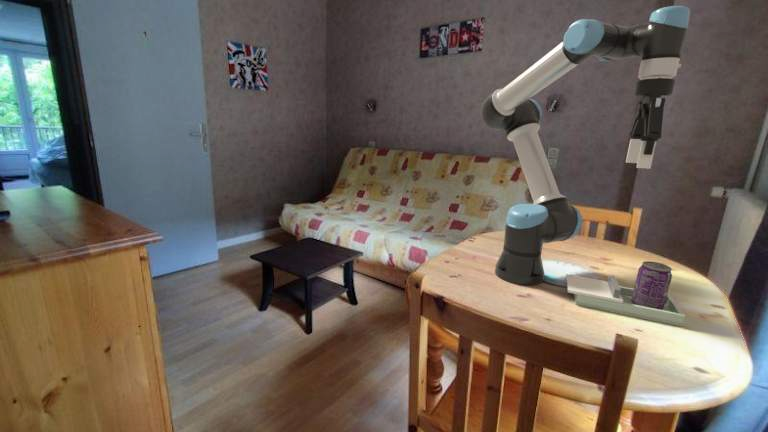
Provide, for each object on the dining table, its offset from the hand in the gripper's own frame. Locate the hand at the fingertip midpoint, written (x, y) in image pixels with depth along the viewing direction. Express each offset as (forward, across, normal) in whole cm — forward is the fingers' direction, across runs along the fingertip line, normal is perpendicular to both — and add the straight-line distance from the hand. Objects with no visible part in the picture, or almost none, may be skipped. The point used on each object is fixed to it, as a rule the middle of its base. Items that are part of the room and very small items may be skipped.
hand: (637, 165), depth 90 cm
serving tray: (+39, -3, -3) cm, 39 cm away
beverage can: (+38, -3, -8) cm, 39 cm away
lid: (+36, -3, +5) cm, 36 cm away
